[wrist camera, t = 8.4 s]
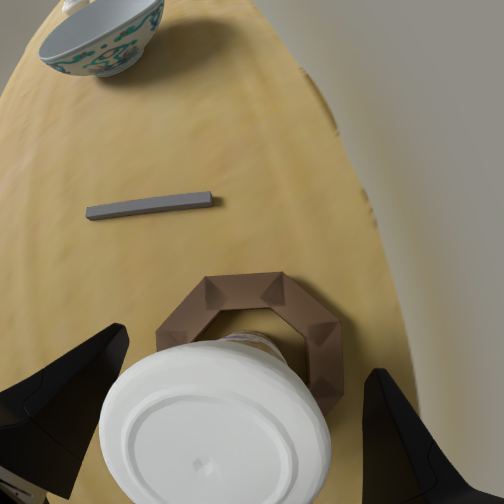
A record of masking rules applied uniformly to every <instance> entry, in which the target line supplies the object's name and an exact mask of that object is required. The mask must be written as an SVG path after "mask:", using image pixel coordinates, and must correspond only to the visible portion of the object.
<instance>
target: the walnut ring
mask: <svg viewBox="0 0 504 504" xmlns="http://www.w3.org/2000/svg"><path fill="white" fill-rule="evenodd" d="M264 308H270V309H272V310H273V311H274V312H275V313H276V314H277V315H279V316H280V317H281V318H282V319H283V320H284V321H286V322H287V323H288V324H289V325H290V326H291V327H293V328H294V329H295V330H296V331H297V332H298V333H300V334H301V335H302V336H303V337H304V338H305V353H306V372H307V382H306V383H305V385H306V387H307V388H308V390H309V391H310V393H311V394H312V396H313V398H314V399H315V401H316V403H317V405H318V407H319V408H320V410H321V412H322V415H323V417H324V416H325V415H326V414H327V413H328V412H329V411H330V410H331V409H332V407H333V406H334V405H335V404H336V403H337V402H338V401H339V400H340V399H341V397H342V396H343V395H344V377H343V353H342V335H341V321H340V320H338V319H337V318H336V317H335V316H334V315H333V314H331V313H330V312H329V311H328V310H327V309H326V308H324V307H323V306H322V305H321V304H320V303H319V302H317V301H316V300H315V299H314V298H313V297H312V296H310V295H309V294H308V293H307V292H306V291H304V290H303V289H302V288H301V287H300V286H299V285H297V284H296V283H295V282H294V281H293V280H292V279H290V278H289V277H288V276H287V275H286V274H285V273H283V272H270V273H255V274H239V275H223V276H205V277H204V278H203V279H202V280H201V282H200V283H199V284H198V285H197V286H196V287H195V288H194V289H193V290H192V291H191V293H190V294H189V295H188V296H187V297H186V298H185V299H184V300H183V301H182V303H181V304H180V305H179V306H178V307H177V308H176V309H175V310H174V311H173V313H172V314H171V315H170V316H169V317H168V318H167V319H166V320H165V322H164V323H163V324H162V325H161V326H160V327H159V328H158V329H157V331H156V346H157V352H159V351H162V350H166V349H169V348H172V347H176V346H179V345H183V344H188V343H193V342H196V341H197V340H198V338H199V337H200V336H201V335H202V334H203V333H204V332H205V331H206V330H207V329H208V328H209V326H210V325H211V324H212V323H213V322H214V321H215V320H216V319H217V318H218V317H219V315H220V314H221V313H222V312H223V311H229V310H248V309H264Z"/></svg>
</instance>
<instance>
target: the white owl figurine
mask: <svg viewBox="0 0 504 504" xmlns="http://www.w3.org/2000/svg"><path fill="white" fill-rule="evenodd" d="M64 1H65V3H64V6H63V8H62V12H63V13H65V14H66V15H68V16H71V15H72V14H74V13H75V12H77V11H78V10H80V9H81V8H83V7H84V6H86V5H88V4H89V2H90V0H64Z"/></svg>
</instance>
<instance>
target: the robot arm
mask: <svg viewBox="0 0 504 504" xmlns="http://www.w3.org/2000/svg"><path fill="white" fill-rule="evenodd" d="M128 347H129V337H128V333H127V330H126V327H125V326H124V325H122V324H119V323H113V324H111V325H110V326H108V327H107V328H105V329H104V330H102V331H100V332H99V333H97V334H96V335H94V336H93V337H91V338H89V339H88V340H86V341H85V342H83V343H82V344H80V345H78V346H77V347H75V348H74V349H72V350H71V351H69V352H68V353H66V354H64V355H63V356H61V357H60V358H58V359H57V360H55V361H54V362H52V363H50V364H49V365H47V366H46V367H45V368H43V369H41V370H40V371H38V372H36V373H35V374H33V375H32V376H30V377H28V378H27V379H25V380H23V381H21V382H19V383H17V384H15V385H14V386H12V387H10V388H8V389H6V390H4V391H2V392H0V504H49V502H48V499H47V497H46V494H47V492H50V493H53V494H55V495H57V496H60V497H62V498H65V499H67V500H69V498H70V495H71V493H72V490H73V487H74V484H75V481H76V478H77V475H78V473H79V470H80V467H81V465H82V461H83V459H84V456H85V454H86V451H87V449H88V446H89V444H90V441H91V439H92V436H93V434H94V431H95V429H96V426H97V424H98V422H99V419H100V414H101V410H102V406H103V403H104V401H105V398H106V396H107V394H108V392H109V390H110V388H111V387H112V385H113V384H114V383H115V381H116V380H117V379H118V376H119V373H120V370H121V367H122V364H123V361H124V358H125V355H126V352H127V349H128ZM362 431H363V492H362V504H504V498H501V497H497V496H494V495H491V494H488V493H484V492H481V491H479V490H476V489H474V488H473V487H471V486H470V485H469V484H468V483H467V482H466V481H465V480H464V479H463V477H462V476H461V475H460V474H459V472H458V471H457V470H456V469H455V468H454V466H453V465H452V464H451V463H450V462H449V460H448V459H447V457H446V456H445V455H444V453H443V452H442V450H441V449H440V448H439V446H438V445H437V443H436V442H435V440H434V439H433V437H432V436H431V434H430V433H429V431H428V429H427V428H426V427H425V425H424V424H423V422H422V421H421V419H420V418H419V416H418V415H417V413H416V412H415V410H414V409H413V407H412V406H411V404H410V403H409V401H408V400H407V399H406V397H405V396H404V394H403V393H402V391H401V390H400V389H399V387H398V386H397V384H396V383H395V381H394V380H393V379H392V377H391V376H390V374H389V373H388V372H387V370H386V369H384V368H375V369H373V371H372V372H371V374H370V375H369V377H368V378H367V379H366V381H365V385H364V403H363V419H362Z"/></svg>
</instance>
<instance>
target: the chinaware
mask: <svg viewBox="0 0 504 504" xmlns="http://www.w3.org/2000/svg"><path fill="white" fill-rule="evenodd" d="M163 9H164V0H95V1H93V2H92V3H90V4H88V5H86V6H84V7H83V8H81V9H80V10H78V11H77V12H75V13H74V14H72V15H71V16H69V17H68V18H67V19H66V20H64V21H63V22H62V23H61V24H60V25H58V26H57V27H56V28H55V29H54V30H53V31H52V32H51V33H50V34H49V35H48V37H47V38H46V39H45V40H44V42H43V43H42V45H41V46H40V49H39V51H38V56H39V58H40V59H41V60H42V61H43V62H44V63H46V64H47V65H48V66H50V67H51V68H53V69H55V70H57V71H59V72H62V73H65V74H69V75H76V76H88V75H96V76H97V77H109V76H112V75H115V74H118V73H120V72H122V71H124V70H126V69H127V68H129V67H130V66H132V65H133V64H134V63H135V62H137V61H138V60H139V59H140V57H141V56H142V54H143V52H144V47H145V46H146V45H147V43H148V42H149V41H150V40H151V38H152V37H153V35H154V34H155V32H156V30H157V28H158V26H159V24H160V21H161V18H162V14H163Z"/></svg>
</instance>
